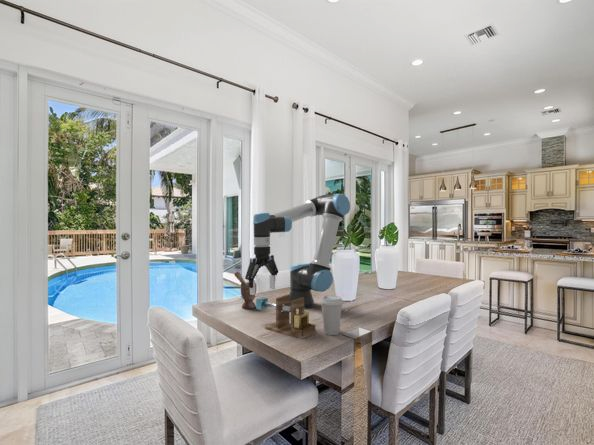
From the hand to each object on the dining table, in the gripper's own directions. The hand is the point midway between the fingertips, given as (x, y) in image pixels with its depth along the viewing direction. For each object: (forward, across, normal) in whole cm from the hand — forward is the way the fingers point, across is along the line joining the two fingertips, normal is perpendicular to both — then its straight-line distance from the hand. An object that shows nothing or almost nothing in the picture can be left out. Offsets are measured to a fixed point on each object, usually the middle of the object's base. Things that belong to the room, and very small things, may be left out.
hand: (262, 291), depth 145 cm
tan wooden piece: (+10, -1, -22) cm, 24 cm away
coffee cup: (+15, +8, -32) cm, 36 cm away
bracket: (+14, -1, -16) cm, 22 cm away
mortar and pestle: (+15, +12, +24) cm, 30 cm away
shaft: (+8, -1, -8) cm, 11 cm away
